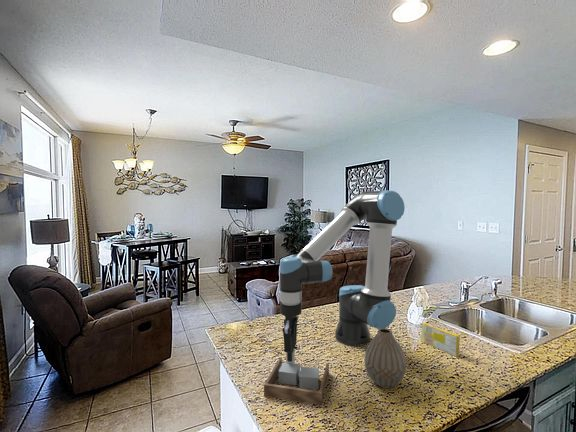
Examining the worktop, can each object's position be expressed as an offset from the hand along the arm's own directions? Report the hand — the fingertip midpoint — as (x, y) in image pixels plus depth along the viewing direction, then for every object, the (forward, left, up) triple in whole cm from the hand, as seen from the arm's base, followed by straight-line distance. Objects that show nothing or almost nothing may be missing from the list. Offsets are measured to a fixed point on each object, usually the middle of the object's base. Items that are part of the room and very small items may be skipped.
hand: (290, 368), depth 108 cm
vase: (-32, -2, -2) cm, 32 cm away
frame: (-4, +6, -2) cm, 7 cm away
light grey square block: (-8, +5, -2) cm, 9 cm away
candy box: (-55, -33, -2) cm, 64 cm away
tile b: (-1, +4, -2) cm, 4 cm away
